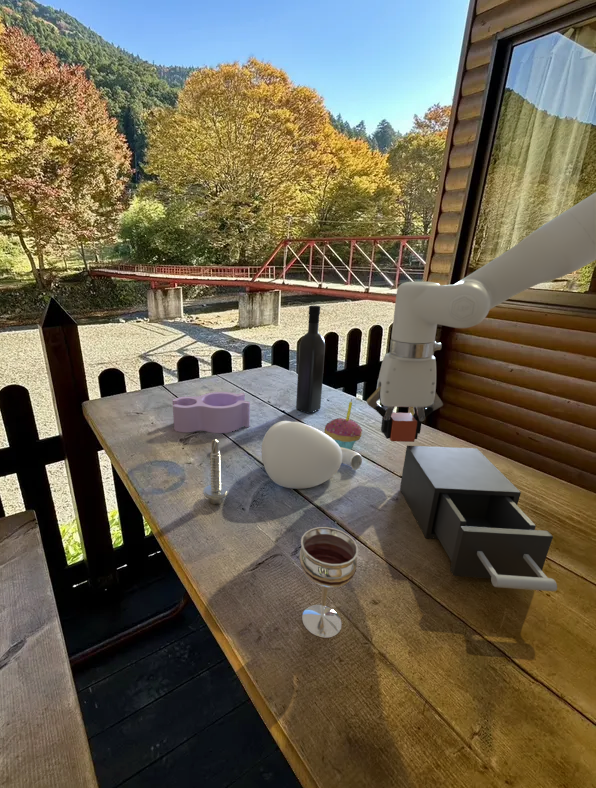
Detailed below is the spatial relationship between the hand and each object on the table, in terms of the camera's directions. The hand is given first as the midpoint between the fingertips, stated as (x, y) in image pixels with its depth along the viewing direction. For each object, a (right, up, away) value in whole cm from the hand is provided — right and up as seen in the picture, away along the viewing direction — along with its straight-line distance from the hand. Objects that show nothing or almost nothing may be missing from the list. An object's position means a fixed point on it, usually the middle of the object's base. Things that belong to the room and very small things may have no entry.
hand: (399, 435), depth 84 cm
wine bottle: (-11, +4, +37) cm, 38 cm away
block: (0, 0, 0) cm, 0 cm away
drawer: (+3, -17, -23) cm, 28 cm away
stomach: (-20, -8, +5) cm, 22 cm away
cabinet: (+4, -13, -10) cm, 17 cm away
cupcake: (-8, -5, +14) cm, 16 cm away
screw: (-38, -12, -6) cm, 40 cm away
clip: (-40, 0, +27) cm, 48 cm away
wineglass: (-23, -21, -31) cm, 44 cm away
